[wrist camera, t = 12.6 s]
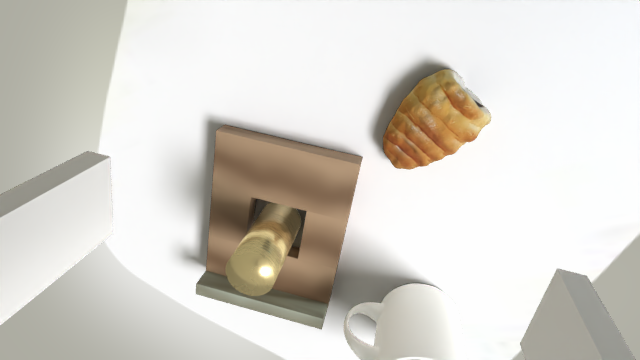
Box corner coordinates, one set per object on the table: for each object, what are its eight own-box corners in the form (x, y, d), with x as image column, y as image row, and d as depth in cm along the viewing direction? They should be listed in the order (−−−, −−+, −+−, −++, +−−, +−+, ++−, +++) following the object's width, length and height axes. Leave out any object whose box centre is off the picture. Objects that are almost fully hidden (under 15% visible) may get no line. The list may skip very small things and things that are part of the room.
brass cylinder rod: (263, 196, 46) (227, 247, 37) (304, 206, 45) (277, 260, 36) (259, 232, 48) (223, 288, 39) (298, 241, 47) (271, 301, 38)
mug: (365, 256, 46) (352, 327, 37) (473, 298, 46) (488, 381, 36) (339, 315, 50) (321, 392, 40) (439, 354, 50) (444, 442, 40)
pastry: (415, 179, 42) (414, 196, 39) (365, 130, 41) (360, 143, 38) (496, 112, 38) (503, 124, 35) (442, 56, 37) (445, 63, 34)
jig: (224, 124, 43) (205, 138, 40) (362, 157, 42) (357, 174, 38) (212, 270, 51) (195, 293, 47) (329, 302, 50) (321, 329, 46)
